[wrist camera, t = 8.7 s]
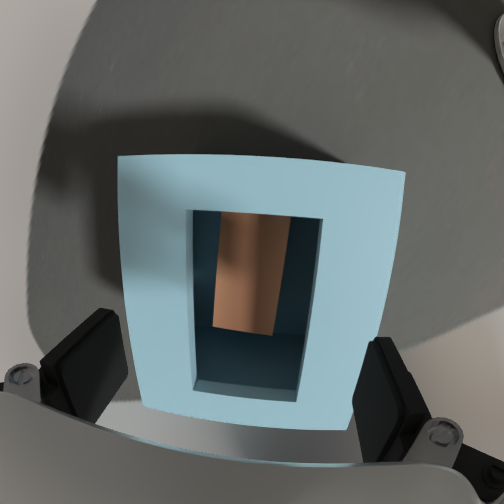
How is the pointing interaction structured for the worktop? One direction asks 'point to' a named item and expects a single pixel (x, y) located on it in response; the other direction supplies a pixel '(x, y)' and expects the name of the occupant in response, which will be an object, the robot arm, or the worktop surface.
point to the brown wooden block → (249, 271)
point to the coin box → (291, 291)
